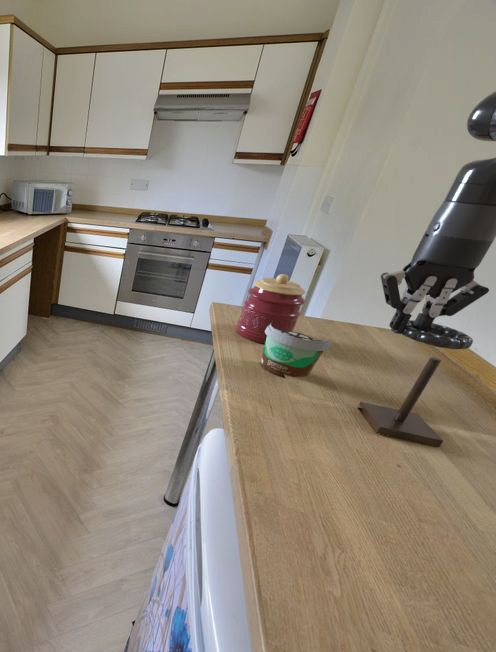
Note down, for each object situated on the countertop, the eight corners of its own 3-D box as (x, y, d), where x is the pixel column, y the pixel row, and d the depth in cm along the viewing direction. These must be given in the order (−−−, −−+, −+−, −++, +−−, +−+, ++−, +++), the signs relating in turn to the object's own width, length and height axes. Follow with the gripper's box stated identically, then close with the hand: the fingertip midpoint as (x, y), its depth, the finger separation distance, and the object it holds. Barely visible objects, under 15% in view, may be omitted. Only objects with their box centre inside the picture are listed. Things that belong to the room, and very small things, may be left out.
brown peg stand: (413, 419, 79) (454, 353, 73) (439, 447, 72) (487, 376, 66) (357, 407, 82) (391, 343, 76) (376, 433, 75) (416, 364, 68)
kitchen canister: (263, 348, 106) (288, 282, 98) (224, 328, 117) (243, 268, 109) (300, 343, 110) (327, 280, 102) (259, 324, 121) (280, 266, 113)
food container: (246, 367, 96) (261, 328, 92) (254, 359, 100) (268, 321, 96) (309, 389, 88) (328, 347, 84) (315, 379, 92) (333, 339, 88)
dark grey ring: (449, 334, 73) (455, 325, 72) (482, 355, 65) (489, 345, 64) (385, 324, 76) (390, 315, 75) (409, 343, 68) (415, 333, 67)
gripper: (502, 234, 65) (443, 333, 72) (393, 224, 69) (348, 318, 77) (537, 243, 59) (469, 350, 66) (416, 231, 63) (365, 333, 71)
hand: (404, 333), depth 71 cm, fingers closed on dark grey ring, 2 cm apart
